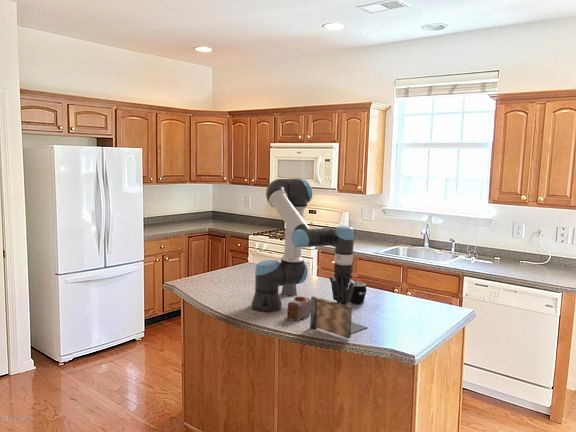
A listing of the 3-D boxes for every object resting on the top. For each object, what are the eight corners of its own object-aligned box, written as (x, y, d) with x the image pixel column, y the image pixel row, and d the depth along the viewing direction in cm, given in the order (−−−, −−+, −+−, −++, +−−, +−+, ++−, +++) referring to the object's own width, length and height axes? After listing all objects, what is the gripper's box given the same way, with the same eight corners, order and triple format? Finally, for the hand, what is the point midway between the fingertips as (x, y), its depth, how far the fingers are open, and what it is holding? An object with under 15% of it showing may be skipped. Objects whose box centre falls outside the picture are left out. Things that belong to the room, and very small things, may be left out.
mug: (358, 306, 240) (359, 287, 239) (344, 302, 246) (345, 283, 245) (372, 302, 248) (373, 283, 247) (358, 298, 255) (359, 280, 254)
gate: (315, 327, 203) (316, 298, 202) (319, 326, 205) (320, 297, 203) (347, 338, 192) (348, 307, 190) (350, 337, 193) (351, 306, 192)
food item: (299, 311, 229) (299, 292, 228) (313, 314, 225) (314, 294, 224) (285, 319, 217) (285, 298, 216) (300, 322, 213) (301, 301, 212)
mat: (326, 329, 205) (326, 328, 205) (348, 321, 215) (348, 320, 215) (345, 336, 197) (345, 335, 197) (367, 328, 208) (367, 327, 207)
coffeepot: (281, 297, 253) (282, 264, 251) (275, 292, 261) (275, 261, 259) (307, 295, 259) (308, 263, 257) (300, 290, 267) (300, 259, 265)
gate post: (308, 328, 206) (309, 297, 204) (313, 326, 208) (314, 296, 206) (313, 329, 203) (314, 298, 202) (318, 328, 206) (319, 297, 204)
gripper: (325, 261, 197) (323, 315, 200) (350, 267, 188) (347, 323, 191) (337, 259, 202) (334, 312, 205) (361, 264, 193) (358, 319, 196)
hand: (341, 317), depth 198 cm, fingers closed
